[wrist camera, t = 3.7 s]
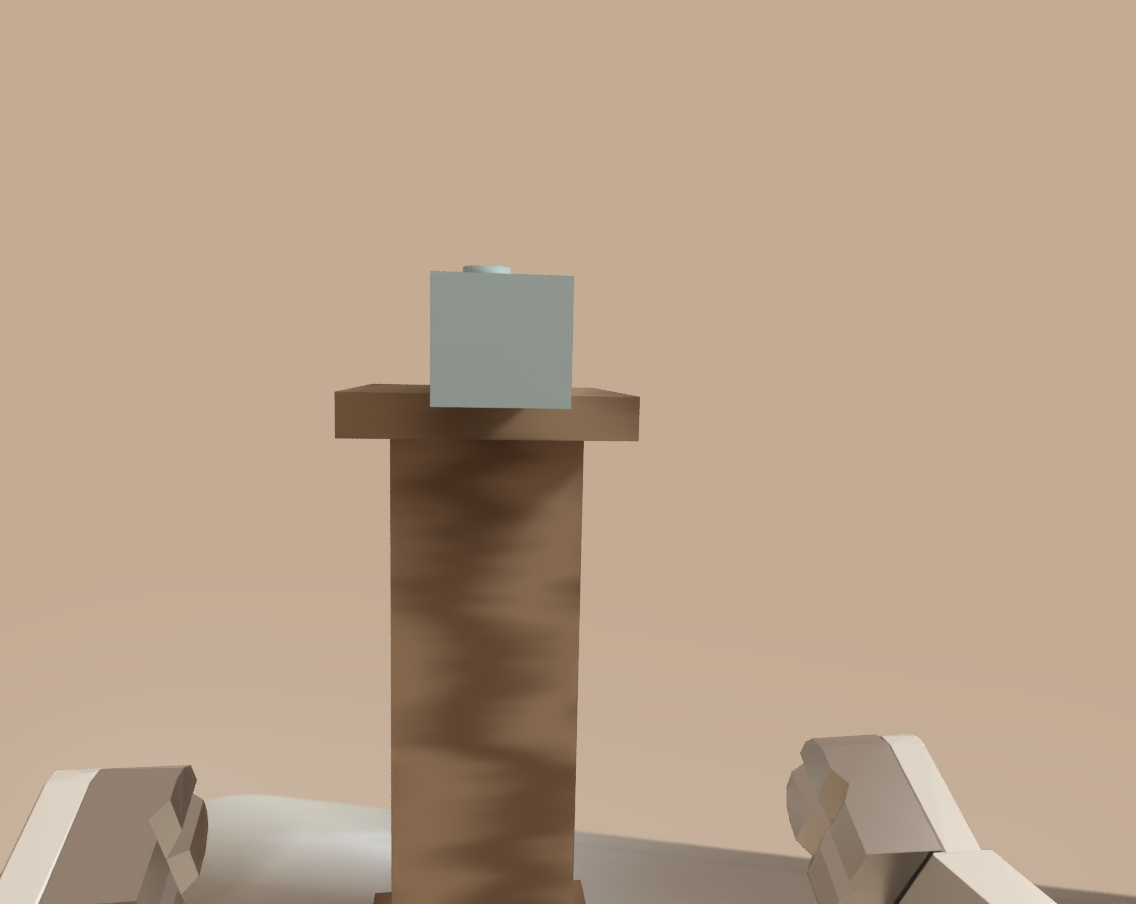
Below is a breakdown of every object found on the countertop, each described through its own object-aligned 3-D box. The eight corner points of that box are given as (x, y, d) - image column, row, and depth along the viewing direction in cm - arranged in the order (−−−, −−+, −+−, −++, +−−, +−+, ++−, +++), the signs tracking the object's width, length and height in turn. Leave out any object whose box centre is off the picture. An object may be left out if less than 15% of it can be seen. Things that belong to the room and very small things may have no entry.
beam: (532, 387, 36) (534, 276, 35) (596, 409, 18) (602, 186, 17) (435, 385, 35) (436, 272, 35) (402, 406, 17) (402, 175, 17)
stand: (579, 908, 39) (592, 388, 36) (617, 1092, 29) (639, 396, 26) (375, 922, 38) (372, 383, 35) (342, 1120, 28) (334, 391, 25)
